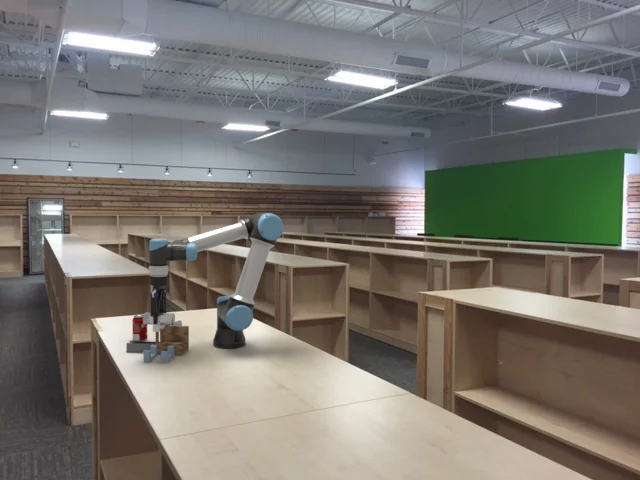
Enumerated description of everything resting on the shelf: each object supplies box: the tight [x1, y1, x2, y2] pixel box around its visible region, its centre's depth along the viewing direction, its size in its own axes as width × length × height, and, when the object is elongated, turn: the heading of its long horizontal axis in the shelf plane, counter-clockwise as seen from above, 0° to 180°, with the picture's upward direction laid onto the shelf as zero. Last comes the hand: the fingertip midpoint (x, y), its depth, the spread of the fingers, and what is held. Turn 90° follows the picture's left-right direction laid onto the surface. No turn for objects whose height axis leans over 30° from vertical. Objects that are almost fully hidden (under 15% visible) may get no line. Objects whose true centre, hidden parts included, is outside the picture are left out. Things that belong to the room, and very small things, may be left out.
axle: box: [143, 312, 176, 326], centre depth 227 cm, size 12×5×5 cm, turn 87°
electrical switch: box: [169, 320, 183, 326], centre depth 260 cm, size 9×5×9 cm, turn 152°
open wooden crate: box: [154, 325, 190, 357], centre depth 239 cm, size 12×9×12 cm
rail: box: [125, 340, 156, 354], centre depth 240 cm, size 14×4×4 cm, turn 87°
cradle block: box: [142, 345, 175, 364], centre depth 228 cm, size 10×9×5 cm
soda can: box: [131, 314, 148, 341], centre depth 258 cm, size 7×7×12 cm
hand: (158, 329), depth 227 cm, fingers closed on axle, 5 cm apart
